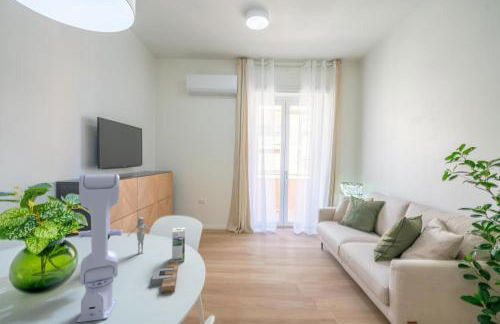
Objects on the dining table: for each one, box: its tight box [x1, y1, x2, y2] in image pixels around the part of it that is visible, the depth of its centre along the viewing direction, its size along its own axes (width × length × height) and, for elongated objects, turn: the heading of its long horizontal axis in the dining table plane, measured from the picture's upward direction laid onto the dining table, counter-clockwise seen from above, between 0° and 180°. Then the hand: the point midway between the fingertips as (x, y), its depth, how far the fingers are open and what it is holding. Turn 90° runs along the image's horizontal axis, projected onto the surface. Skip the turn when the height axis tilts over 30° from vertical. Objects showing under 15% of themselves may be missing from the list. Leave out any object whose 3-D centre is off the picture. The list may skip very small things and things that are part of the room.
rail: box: [161, 260, 179, 294], centre depth 93 cm, size 20×4×2 cm, turn 14°
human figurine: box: [126, 216, 153, 255], centre depth 116 cm, size 12×4×18 cm, turn 126°
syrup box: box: [171, 227, 186, 263], centre depth 110 cm, size 6×6×14 cm
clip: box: [151, 267, 173, 287], centre depth 92 cm, size 8×7×2 cm
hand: (100, 254), depth 89 cm, fingers closed
